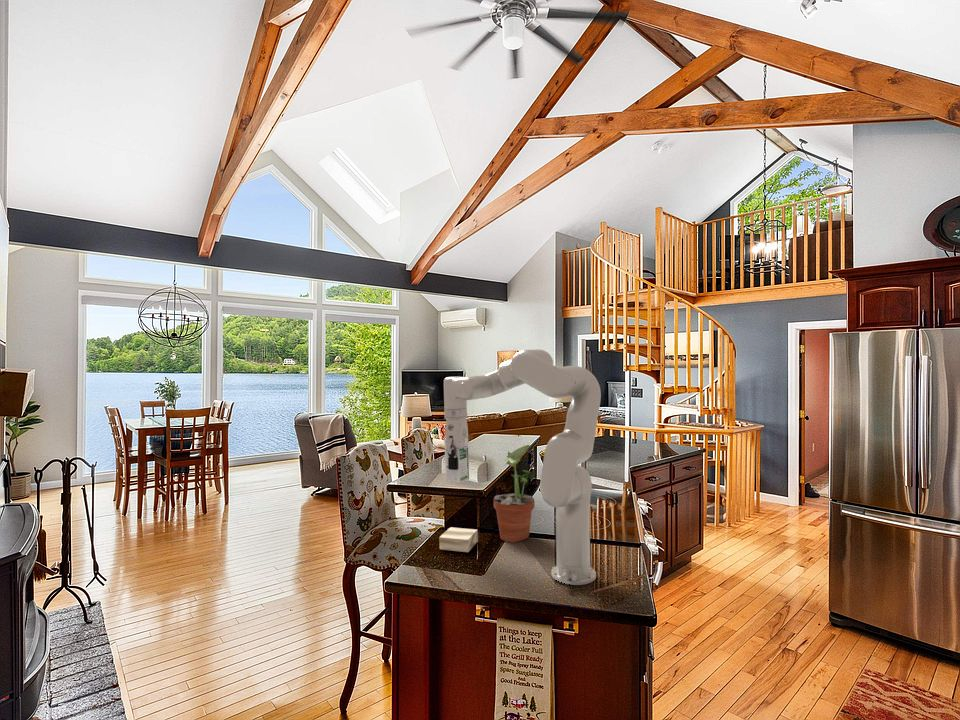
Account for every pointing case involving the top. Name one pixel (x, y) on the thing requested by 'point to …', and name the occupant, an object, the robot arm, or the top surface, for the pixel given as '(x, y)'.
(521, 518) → the potted plant
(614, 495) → the top surface
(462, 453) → the syrup box
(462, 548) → the birch block
